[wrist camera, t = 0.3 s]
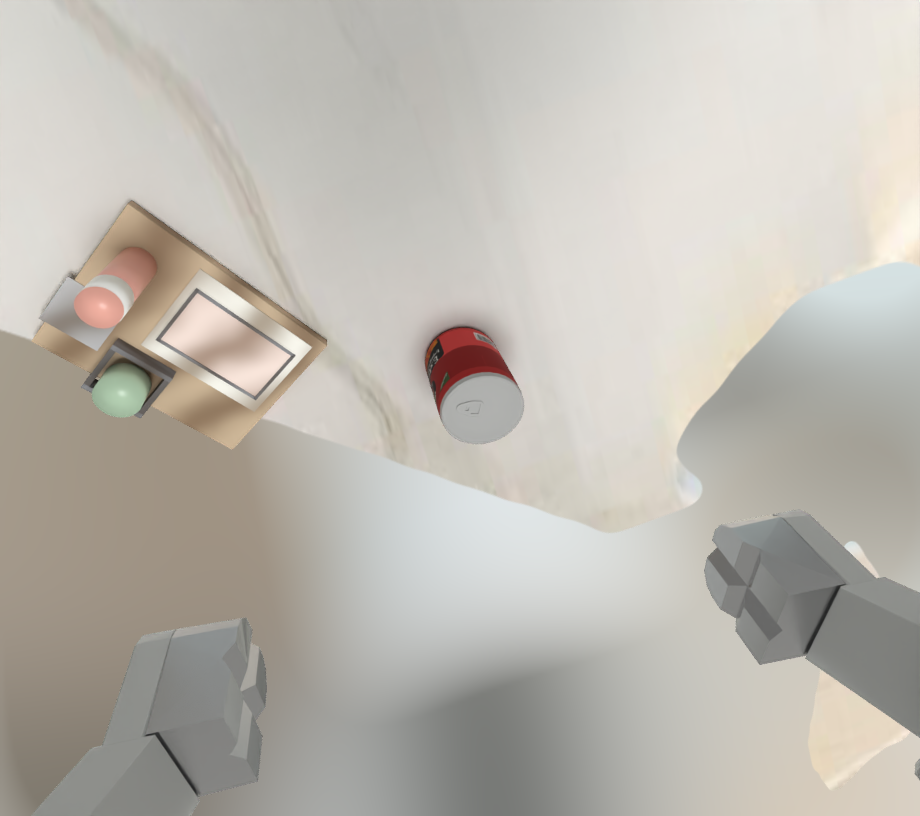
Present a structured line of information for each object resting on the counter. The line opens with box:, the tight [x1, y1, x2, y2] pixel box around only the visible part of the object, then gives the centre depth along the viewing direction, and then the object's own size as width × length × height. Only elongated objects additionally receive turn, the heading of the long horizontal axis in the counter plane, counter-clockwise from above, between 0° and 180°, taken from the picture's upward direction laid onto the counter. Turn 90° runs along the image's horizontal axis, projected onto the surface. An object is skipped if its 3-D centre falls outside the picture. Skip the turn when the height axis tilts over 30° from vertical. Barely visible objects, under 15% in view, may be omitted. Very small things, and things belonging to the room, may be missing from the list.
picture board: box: [32, 201, 327, 449], centre depth 52 cm, size 20×17×3 cm
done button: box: [92, 363, 151, 417], centre depth 51 cm, size 4×4×3 cm
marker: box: [74, 247, 157, 329], centre depth 44 cm, size 3×3×10 cm
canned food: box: [425, 328, 524, 444], centre depth 56 cm, size 8×8×11 cm
